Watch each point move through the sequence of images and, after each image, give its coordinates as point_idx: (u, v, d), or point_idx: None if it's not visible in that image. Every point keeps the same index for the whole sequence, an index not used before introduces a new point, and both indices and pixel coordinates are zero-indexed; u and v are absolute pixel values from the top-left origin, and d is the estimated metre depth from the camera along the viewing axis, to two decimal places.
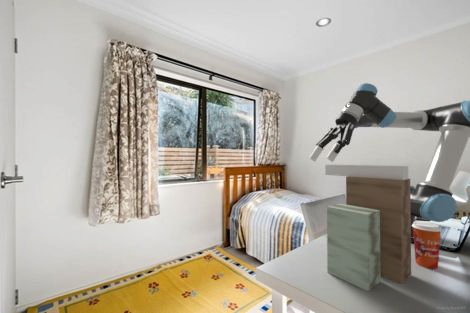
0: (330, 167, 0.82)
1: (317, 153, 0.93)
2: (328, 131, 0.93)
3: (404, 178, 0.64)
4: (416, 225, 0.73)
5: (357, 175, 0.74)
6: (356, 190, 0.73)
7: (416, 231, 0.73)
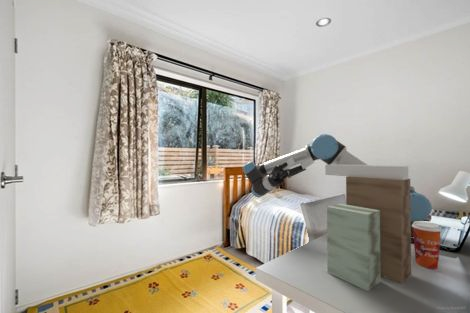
0: (330, 167, 0.82)
1: (306, 163, 1.02)
2: (291, 176, 1.08)
3: (404, 178, 0.64)
4: (416, 225, 0.73)
5: (357, 175, 0.74)
6: (356, 190, 0.73)
7: (416, 231, 0.73)
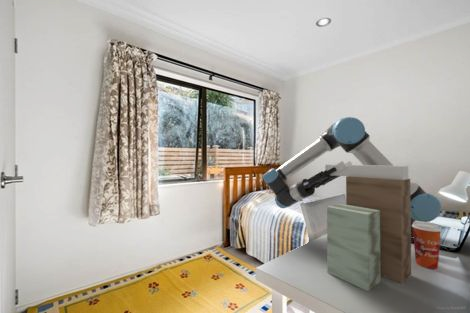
0: (330, 167, 0.82)
1: None
2: (325, 183, 0.92)
3: (404, 178, 0.64)
4: (416, 225, 0.73)
5: (357, 175, 0.74)
6: (356, 190, 0.73)
7: (416, 231, 0.73)
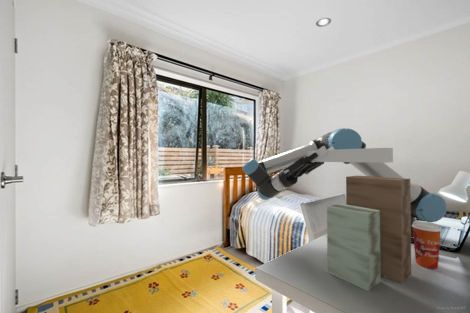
0: (311, 153, 0.76)
1: None
2: (309, 172, 0.86)
3: (388, 161, 0.58)
4: (416, 225, 0.73)
5: (339, 160, 0.68)
6: (356, 190, 0.73)
7: (416, 231, 0.73)
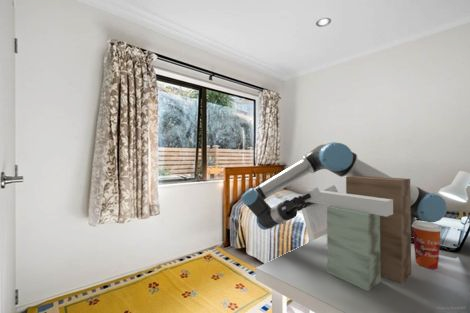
0: None
1: None
2: None
3: (388, 214, 0.57)
4: (416, 225, 0.73)
5: (338, 205, 0.67)
6: (356, 190, 0.73)
7: (416, 231, 0.73)
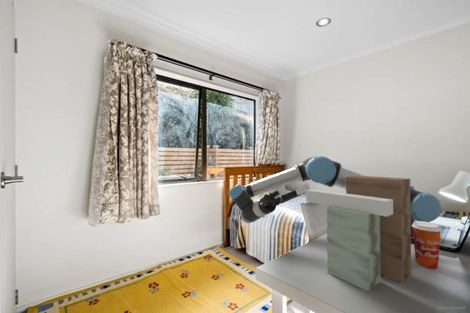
0: (311, 194, 0.75)
1: (301, 188, 0.89)
2: (285, 201, 0.96)
3: (388, 214, 0.57)
4: (416, 225, 0.73)
5: (338, 205, 0.67)
6: (356, 190, 0.73)
7: (416, 231, 0.73)
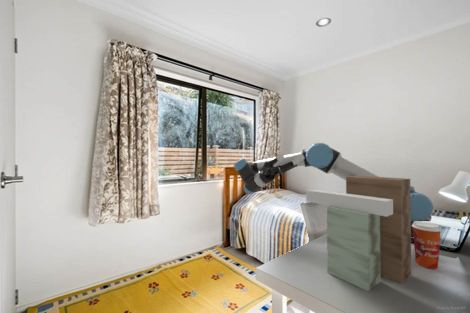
0: (311, 194, 0.75)
1: (297, 159, 1.01)
2: (283, 172, 1.08)
3: (388, 214, 0.57)
4: (416, 225, 0.73)
5: (338, 205, 0.67)
6: (356, 190, 0.73)
7: (416, 231, 0.73)
